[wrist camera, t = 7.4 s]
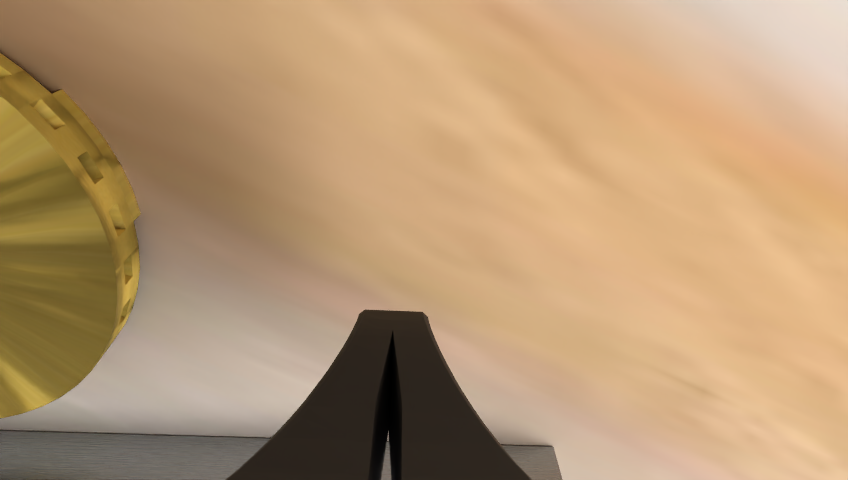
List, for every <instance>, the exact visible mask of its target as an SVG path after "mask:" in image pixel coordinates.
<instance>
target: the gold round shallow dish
mask: <svg viewBox="0 0 848 480" xmlns="http://www.w3.org/2000/svg"><path fill="white" fill-rule="evenodd" d="M140 214H141V213H140V210H139V207H138V204H137V201H136V198H135V195H134V193H133V190H132V187H131V185H130V183H129V181H128V179H127V177H126V175H125V173H124V171H123V169H122V167H121V164H120V163H119V161H118V160H117V158H116V156H115V155H114V153H113V152H112V150H111V148H110V147H109V145H108V144H107V142H106V140H105V139H104V137H103V136H102V135H101V134H100V132H99V131H98V130H97V128H96V127H95V126H94V125H93V123H92V122H91V121H90V119H89V118H88V117H87V116H86V114H85V113H84V112H83V111H82V110H81V109H80V108H79V107H78V106H77V105H76V104H75V103H74V101H73V100H72V99H71V98H70V97H69V96H68V95H67V94H66V93H65V92H64V91H63V90H62V89H61V90H59V91H57V92H55V93H52V94H51V93H50V92H49V91H48V90H47V89H45V88H44V87H43V86H42V85H41V84H40V83H39V82H37V81H36V80H35V79H34V78H33V77H32V76H30V75H29V74H28V73H27V72H26V71H25V70H23V69H22V68H21V67H19V66H18V65H16V64H15V63H14V62H12V61H11V60H9V59H8V58H7V57H5V56H4V55H2V54H1V53H0V418H5V417H9V416H14V415H18V414H22V413H25V412H28V411H31V410H34V409H36V408H39V407H42V406H44V405H46V404H48V403H50V402H52V401H54V400H56V399H58V398H60V397H61V396H63V395H64V394H66V393H67V392H68V391H70V390H71V389H73V388H74V387H75V386H77V385H78V384H79V383H80V382H81V381H82V380H83V379H84V378H85V377H86V376H87V375H88V374H89V373H90V372H91V371H92V369H93V368H94V367H95V365H96V364H97V362H98V361H99V360H100V358H101V357H102V356H103V354H104V353H105V352H106V350H107V349H108V348H109V346H110V345H111V343H112V342H113V341H114V339H115V338H116V337H117V335H118V334H119V332H120V331H121V329H122V328H123V327H124V325H125V323H126V321H127V319H128V316H129V314H130V312H131V310H132V308H133V304H134V301H135V297H136V293H137V290H138V281H139V271H140V263H139V245H138V240H137V235H136V231H135V226H134V220H135V219H136V218H137V217H138V216H139V215H140Z"/></svg>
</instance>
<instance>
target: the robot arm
mask: <svg viewBox="0 0 848 480" xmlns="http://www.w3.org/2000/svg"><path fill="white" fill-rule="evenodd" d="M388 430H389V448H390V467H391V480H532V479H531V478H530V477H529V476H528V475H527V474H526V473H525V472H524V471H523V470H522V469H521V468H520V467H519V466H518V465H517V463H516V462H515V461H514V460H513V459H512V458H511V457H510V455H509V454H508V453H507V452H506V451H505V449H504V448H503V447H502V446H501V445H500V444H499V442H498V441H497V440H496V438H495V437H494V436H493V435H492V433H491V432H490V431H489V429H488V428H487V427H486V426H485V424H484V423H483V421H482V420H481V419H480V417H479V416H478V414H477V413H476V411H475V410H474V409H473V407H472V405H471V404H470V402H469V401H468V399H467V398H466V396H465V395H464V393H463V392H462V390H461V388H460V386H459V385H458V383H457V381H456V380H455V378H454V376H453V374H452V372H451V371H450V369H449V367H448V365H447V363H446V361H445V359H444V357H443V355H442V353H441V351H440V349H439V347H438V345H437V342H436V340H435V338H434V335H433V333H432V330H431V327H430V324H429V321H428V317H427V316H426V315H425V314H424V313H423V312H410V311H384V310H364V311H363V312H361V313H360V314H359V316H358V319H357V322H356V324H355V326H354V328H353V330H352V332H351V334H350V336H349V337H348V339H347V341H346V343H345V344H344V346H343V348H342V349H341V351H340V353H339V354H338V356H337V357H336V359H335V360H334V362H333V363H332V365H331V366H330V368H329V369H328V371H327V372H326V374H325V375H324V376H323V378H322V379H321V380H320V382H319V383H318V384H317V386H316V387H315V388H314V390H313V391H312V392H311V393H310V395H309V396H308V397H307V399H306V400H305V401H304V402H303V404H302V405H301V406H300V407H299V408H298V409H297V411H296V412H295V413H294V414H293V415H292V416H291V418H290V419H289V420H288V421H287V422H286V423H285V424H284V425H283V426H282V427H281V428H280V429H279V430H278V432H277V433H276V434H275V435H274V436H273V437H272V438H271V439H270V440H269V441H268V442H267V443H265V444H264V445H263V446H262V447H261V448H260V449H259V450H258V451H257V452H256V453H255V454H254V455H253V456H252V457H251V458H250V459H249V460H248V461H247V462H245V463H244V464H243V465H242V466H241V467H240V468H239V469H238V470H236V471H235V472H234V473H233V474H232V475H230V476H229V477H228V478H227V479H225V480H381V477H382V470H383V463H384V457H385V450H386V443H387V437H388Z"/></svg>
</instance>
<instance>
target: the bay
mask: <svg viewBox="0 0 848 480" xmlns="http://www.w3.org/2000/svg"><path fill="white" fill-rule="evenodd" d="M269 440H270V439H268V438H233V437H199V436H165V435H130V434H96V433H61V432H27V431H0V480H225V479H227V478H228V477H229V476H230V475H232V474H233V473H234V472H235V471H236V470H238V469H239V468H240V467H241V466H242V465H243V464H244V463H245V462H247V461H248V460H249V459H250V458H251V457H252V456H253V455H254V454H255V453H256V452H257V451H258V450H259V449H260V448H261V447H262V446H263V445H264V444H265V443H267V442H268V441H269ZM501 446H502V447H503V448H504V449H505V451H506V452H507V453H508V454H509V455H510V457H511V458H512V459H513V460H514V461H515V462H516V463H517V465H518V466H519V467H520V468H521V469H522V470H523V471H524V472H525V473H526V474H527V475H528V476H529V477H530V478H531V479H532V480H562V477H561V473H560V470H559V466H558V462H557V459H556V455H555V451H554V448H553V447H543V446H509V445H501ZM381 480H391V467H390V448H389V442H387V443H386V450H385V457H384V463H383V470H382V477H381Z"/></svg>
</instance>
